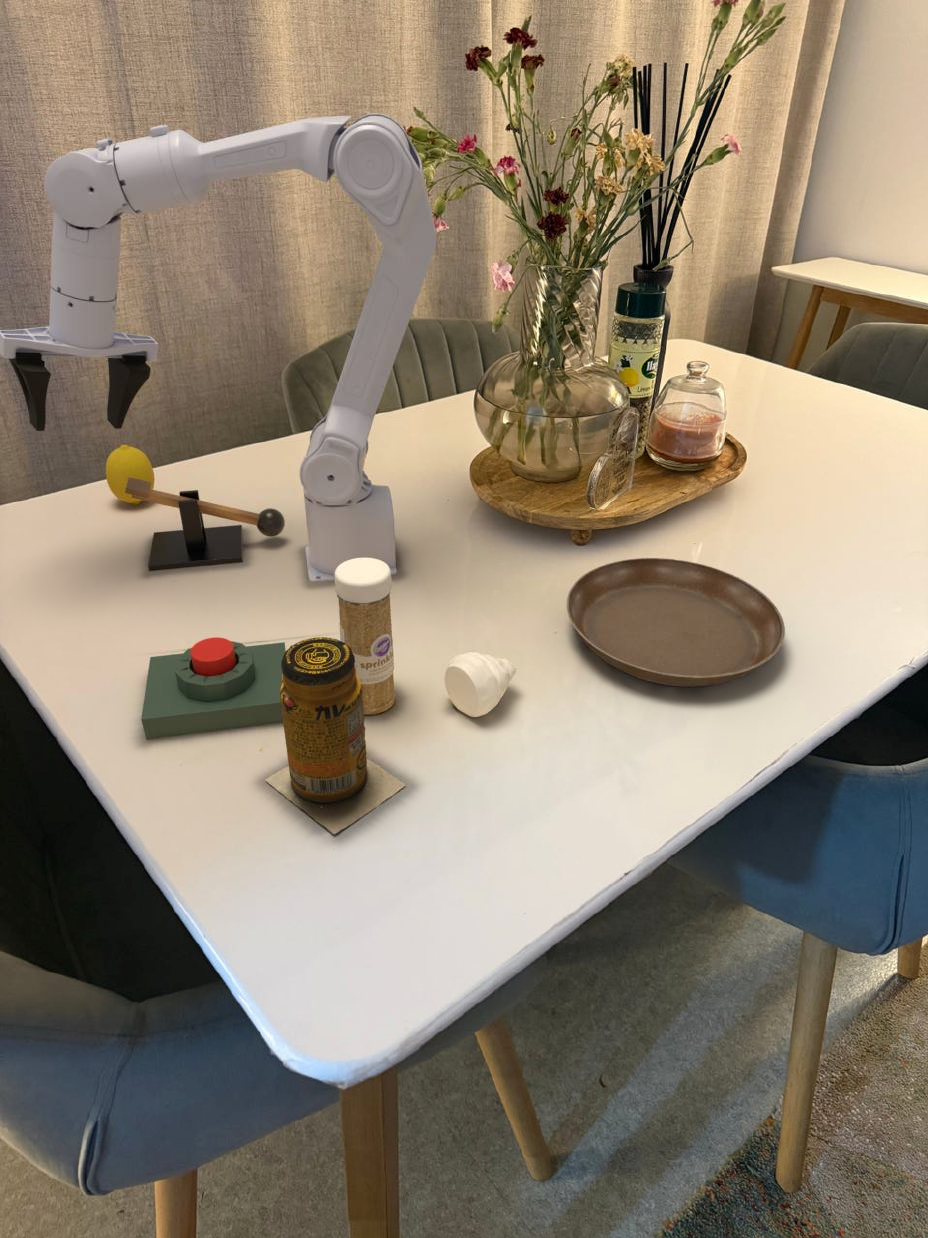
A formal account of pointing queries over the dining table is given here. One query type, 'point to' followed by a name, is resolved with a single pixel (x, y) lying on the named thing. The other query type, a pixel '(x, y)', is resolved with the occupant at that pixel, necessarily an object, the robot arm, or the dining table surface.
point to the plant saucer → (675, 621)
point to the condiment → (327, 737)
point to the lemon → (127, 471)
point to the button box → (213, 693)
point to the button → (213, 656)
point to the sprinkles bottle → (368, 627)
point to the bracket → (195, 541)
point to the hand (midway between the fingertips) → (76, 425)
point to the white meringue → (477, 682)
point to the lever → (210, 508)
